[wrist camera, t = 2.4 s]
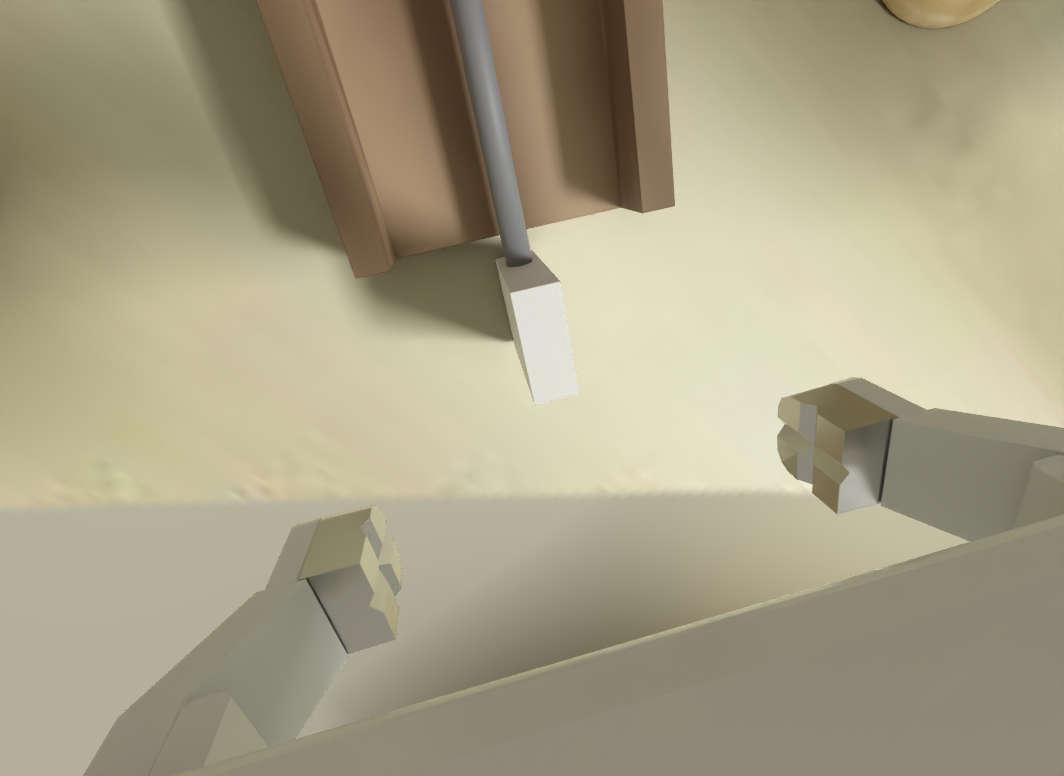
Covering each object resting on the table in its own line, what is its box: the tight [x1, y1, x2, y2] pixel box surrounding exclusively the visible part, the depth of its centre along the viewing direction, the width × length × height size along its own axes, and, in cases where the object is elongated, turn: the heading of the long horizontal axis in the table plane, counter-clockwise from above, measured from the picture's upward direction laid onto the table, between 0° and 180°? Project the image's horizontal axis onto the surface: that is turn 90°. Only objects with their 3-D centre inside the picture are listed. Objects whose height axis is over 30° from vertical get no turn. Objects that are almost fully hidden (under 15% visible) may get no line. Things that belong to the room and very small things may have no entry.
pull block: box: [449, 0, 579, 404], centre depth 14 cm, size 8×24×6 cm, turn 11°
